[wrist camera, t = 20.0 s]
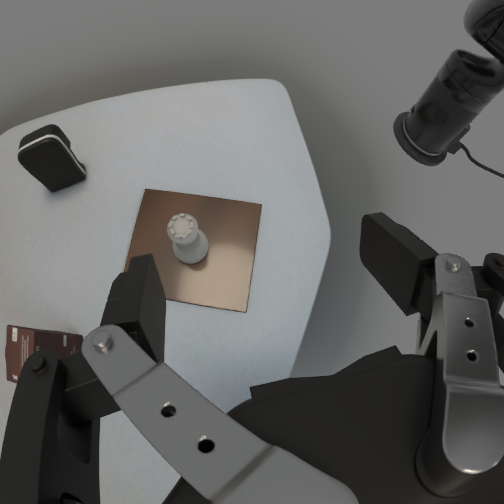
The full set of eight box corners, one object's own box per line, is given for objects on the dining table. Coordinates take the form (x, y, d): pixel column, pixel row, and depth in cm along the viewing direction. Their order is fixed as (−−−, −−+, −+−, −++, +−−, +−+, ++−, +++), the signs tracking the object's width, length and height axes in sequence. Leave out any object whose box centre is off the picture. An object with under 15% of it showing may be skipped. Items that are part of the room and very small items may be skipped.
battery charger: (87, 159, 41) (56, 115, 30) (88, 179, 40) (54, 137, 29) (50, 174, 40) (15, 136, 29) (50, 194, 39) (11, 158, 28)
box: (84, 378, 33) (33, 390, 21) (57, 372, 33) (3, 380, 21) (85, 333, 34) (33, 330, 23) (58, 329, 34) (3, 323, 22)
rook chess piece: (215, 253, 38) (211, 232, 30) (183, 271, 37) (171, 254, 29) (198, 223, 39) (190, 197, 31) (167, 241, 38) (152, 218, 30)
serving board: (261, 205, 40) (261, 204, 40) (246, 312, 37) (246, 312, 36) (146, 190, 40) (145, 188, 39) (121, 290, 36) (120, 289, 36)
